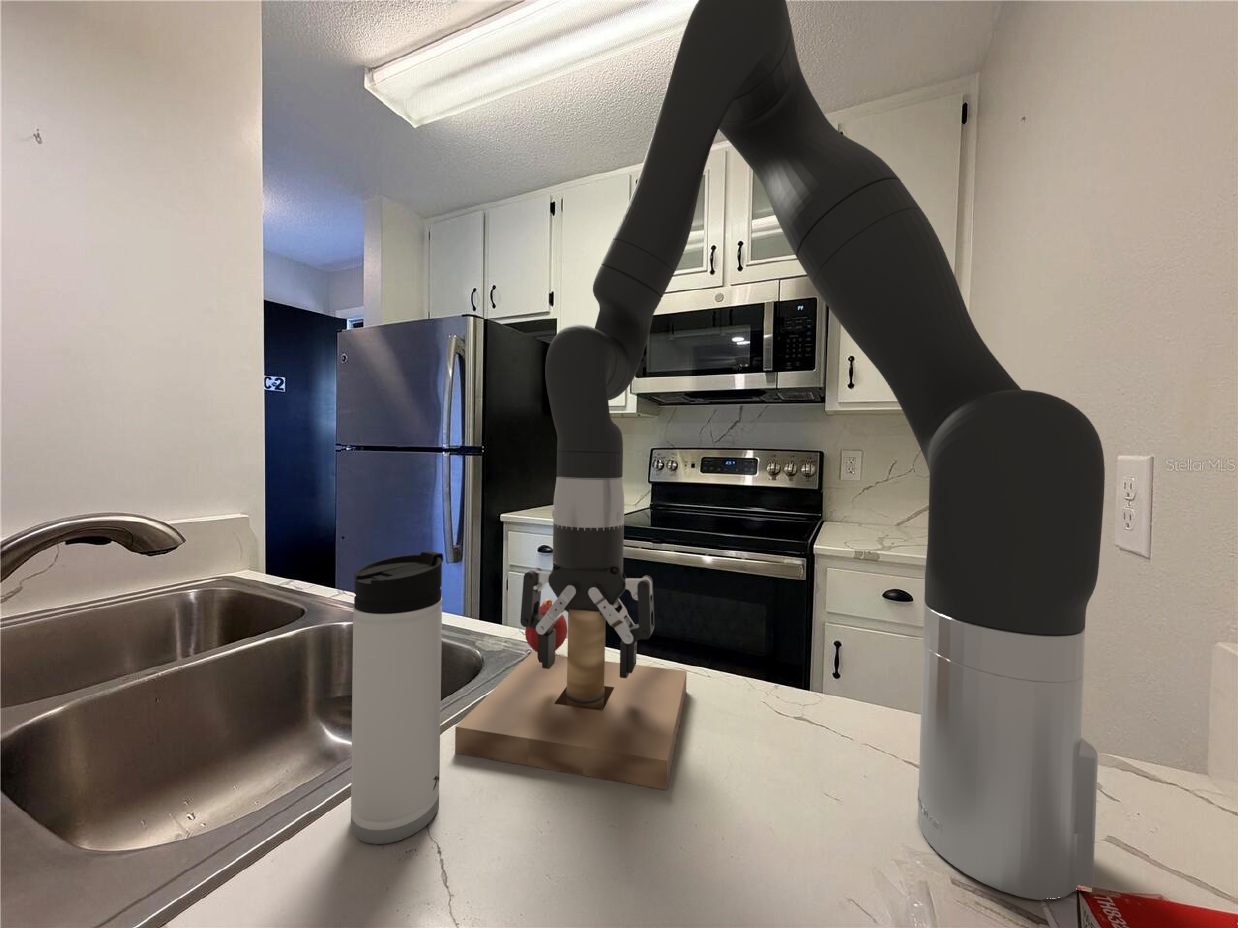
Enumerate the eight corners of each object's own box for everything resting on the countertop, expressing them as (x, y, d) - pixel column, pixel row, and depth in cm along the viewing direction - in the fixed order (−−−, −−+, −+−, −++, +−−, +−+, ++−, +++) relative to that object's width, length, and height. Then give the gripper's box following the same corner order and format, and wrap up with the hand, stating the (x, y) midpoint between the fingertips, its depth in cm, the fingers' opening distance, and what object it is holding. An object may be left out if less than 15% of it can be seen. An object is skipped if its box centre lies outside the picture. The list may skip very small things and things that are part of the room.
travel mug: (459, 804, 39) (463, 556, 39) (381, 860, 34) (385, 572, 33) (411, 775, 43) (414, 547, 42) (333, 822, 37) (336, 559, 37)
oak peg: (608, 711, 54) (610, 603, 54) (598, 731, 50) (600, 615, 50) (572, 706, 55) (574, 600, 55) (559, 726, 51) (562, 611, 51)
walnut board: (686, 691, 59) (686, 670, 59) (666, 789, 42) (667, 760, 41) (531, 671, 64) (531, 652, 64) (455, 752, 46) (455, 726, 46)
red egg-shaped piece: (558, 667, 65) (559, 607, 65) (518, 662, 66) (519, 604, 66) (571, 650, 71) (572, 595, 71) (534, 646, 72) (535, 592, 72)
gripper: (660, 518, 54) (657, 663, 55) (539, 512, 57) (537, 650, 58) (648, 528, 47) (645, 695, 47) (511, 520, 50) (509, 677, 50)
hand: (585, 670), depth 52 cm, fingers open, 8 cm apart
